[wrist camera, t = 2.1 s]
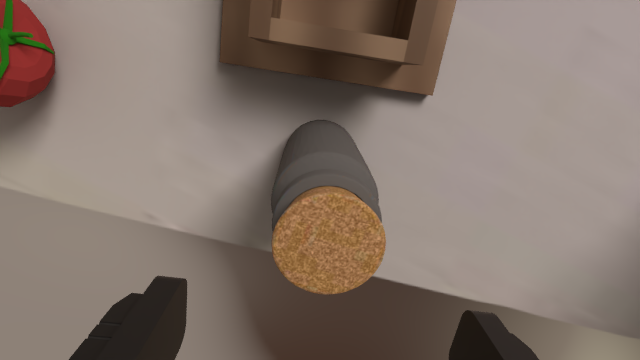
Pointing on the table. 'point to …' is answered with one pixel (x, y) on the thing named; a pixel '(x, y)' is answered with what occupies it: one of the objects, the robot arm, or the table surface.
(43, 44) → the tomato
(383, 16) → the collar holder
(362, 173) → the bottle
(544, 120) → the table surface
